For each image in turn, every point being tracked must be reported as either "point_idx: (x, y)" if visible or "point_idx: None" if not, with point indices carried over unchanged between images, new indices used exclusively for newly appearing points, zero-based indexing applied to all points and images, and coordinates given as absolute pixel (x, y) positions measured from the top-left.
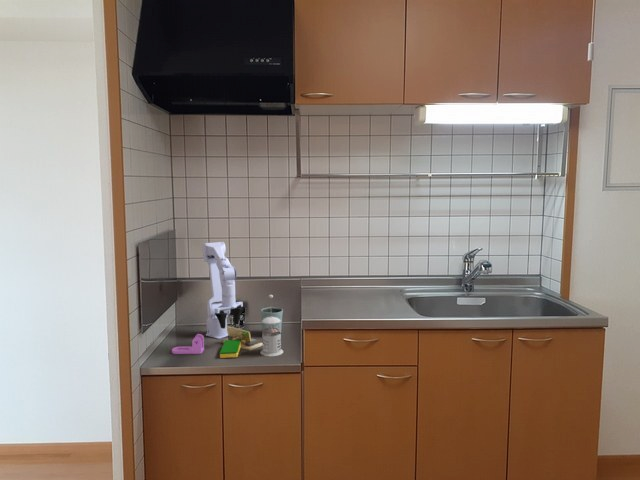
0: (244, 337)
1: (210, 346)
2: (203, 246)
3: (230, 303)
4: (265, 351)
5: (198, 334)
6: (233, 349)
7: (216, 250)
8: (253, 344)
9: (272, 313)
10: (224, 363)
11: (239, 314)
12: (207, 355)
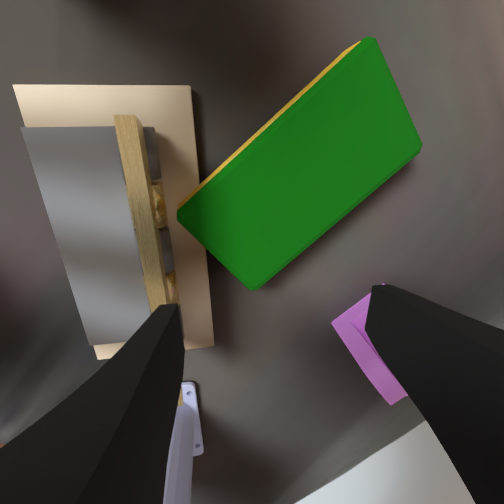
0: (152, 194)
1: (289, 329)
2: None
3: None
4: None
5: (399, 395)
6: (347, 102)
7: None
8: (112, 126)
9: None
10: (454, 49)
11: (98, 410)
12: (391, 240)
